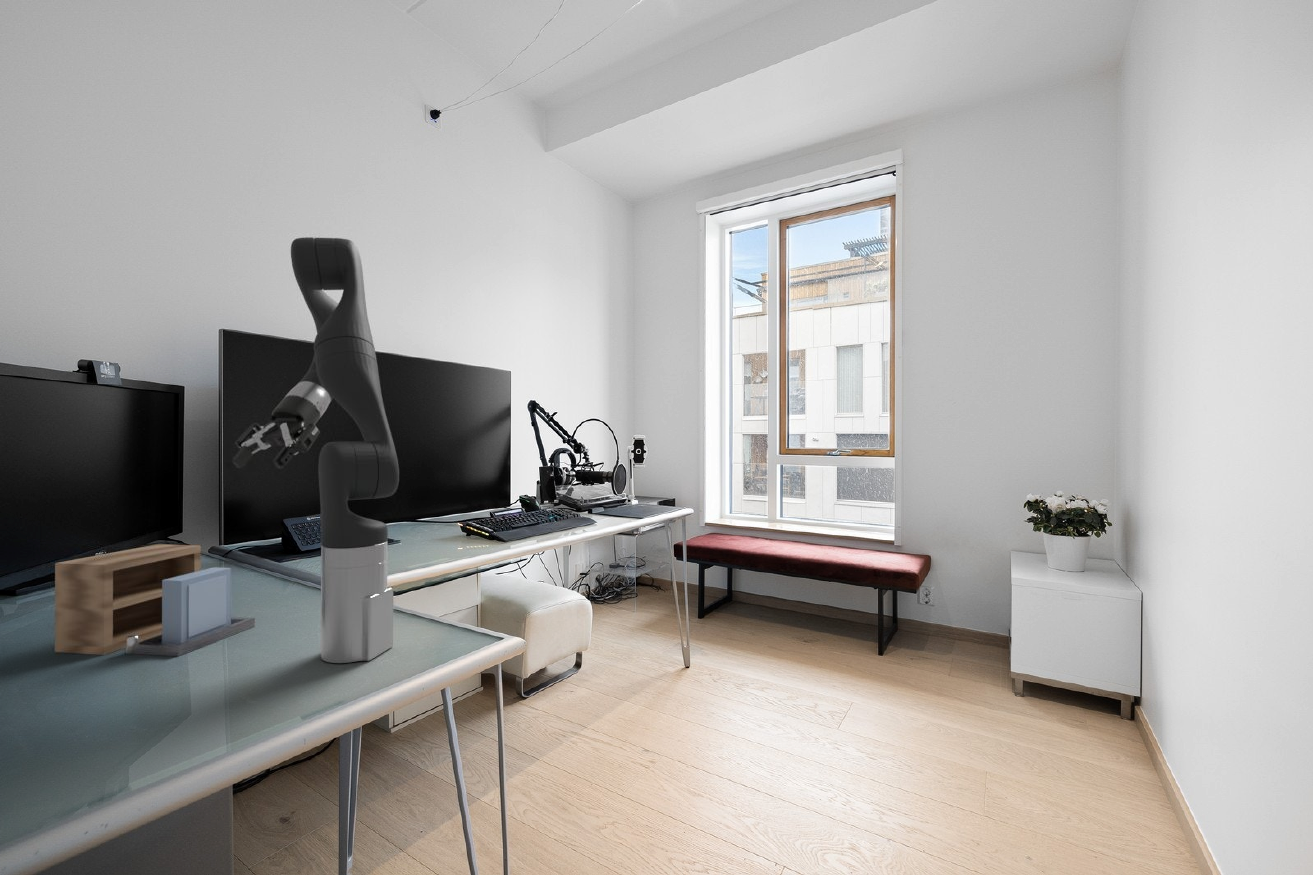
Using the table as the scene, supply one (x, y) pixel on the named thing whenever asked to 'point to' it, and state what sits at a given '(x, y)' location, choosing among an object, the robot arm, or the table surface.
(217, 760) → the table surface
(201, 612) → the recessed panel box
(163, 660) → the table surface
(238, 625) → the dark grey tray
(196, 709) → the table surface
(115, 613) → the cabinet
